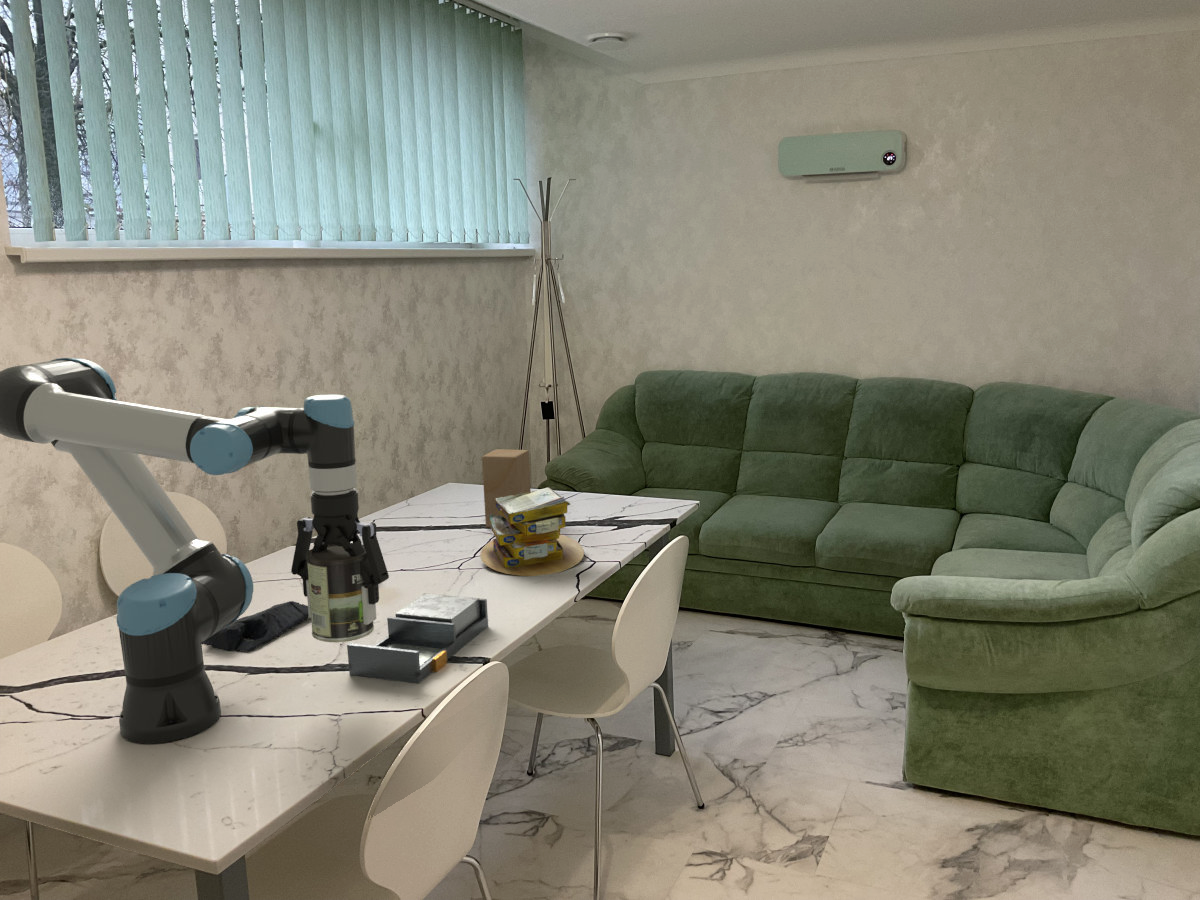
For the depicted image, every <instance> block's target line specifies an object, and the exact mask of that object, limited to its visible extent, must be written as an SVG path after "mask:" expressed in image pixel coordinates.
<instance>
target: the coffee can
mask: <svg viewBox="0 0 1200 900" xmlns="http://www.w3.org/2000/svg"><path fill="white" fill-rule="evenodd" d="M352 543H353V542H350V544H352ZM361 546H362V547H363V549H364V551H365V548H364V545H363V543H361ZM312 549H313V548H310V549H309V551H308V552H307V553H306V559H307V565H308V580H309V593H310V608H311V617H310V619H311V635H312V637H313V638H314V639H315V640H317V641H320V642H325V643H346V642H351V641H357V640H360V639H362V638H365V637H367V636H369V635H370V634H372V632H373V631H374V629H375V625H374V621H373V622H371V623H370V624H368V625H366V624H364V620H363V604H362V588H361V587H362V586H364V585H365V582H364V580H363V579H362V577H361V575H360V561H364V560H366V559H367V555H366V551H365V552H363V553H362V554H359V555H358V556H350V555H349V553H348V552H346V551H345V550H344V548H343V546H337V545H328V547H327V549H325V550H323V551H321V552H319V553H316V552H312Z"/></svg>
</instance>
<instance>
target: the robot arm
mask: <svg viewBox="0 0 1200 900" xmlns="http://www.w3.org/2000/svg"><path fill="white" fill-rule="evenodd" d="M116 393H117V388H116V386H115V383H114V380H113V379H112V378H111V376H110V375H109V373H108V372H107V371H106V370H105V369H104V368H103V367H102V366H100V364H97V363H96V362H93V361H91V360H89V359H85V358H79V357H73V358H69V357H61V358H55V359H52V360H49V361H43V362H37V363H36V362H35V363H31V364H23V365H14V366H10V367H7V368H4V369H3V370H1V371H0V435H2V436H5V437H7V438H10V439H14V440H19V441H23V442H31V443H37V444H43V445H45V444H51V445H52V447H54V449H55V450H56V451H59V452H64V453H68V454H70V455H71V456H72V457H73V459H74V460H75V462H76V463H77V465H78V466H79V467H80V468H81V470H82V471H83V473H84V474H85V475H86V477H87V478H88V479H89V481H90V482H91V484H92V485H93V487H94V488H95V489H96V490H97V492H98V493H99V494H100V496H101V497H102V499H103V500H104V501H105V502H106V504H107V506H108V507H109V508H110V510H111V511H112V513H113V514H114V515H115V517H116V518H117V519H118V521H119V522H120V523H121V525H122V526H123V528H124V529H125V530H126V532H127V533H128V534H129V537H131V538H132V540H133V542H134V543H135V544H136V545H137V547H138V548H139V550H140V551H141V553H142V554H143V556H145V558H146V560H147V561H148V563H149V564H150V565H151V566H152V568H153V571H152V576H150V577H149V578H142V579H140V580H137V581H136V582H134V583H132V584H130V585H129V586H127V587H125V589H123V591H122V592H121V593H120V594H119V595H118V598H117V602H116V624H117V627H118V632H119V638H120V639H119V641H120V645H121V653H122V661H123V667H124V668H123V669H124V674H125V676H124V677H125V682H126V687H125V691H124V696H123V701H122V706H121V707H122V710H121V711H120V714H119V717H118V719H119V721H118V723H119V730H120V731H119V732H120V735H121V737H122V738H124V739H125V740H126V741H128V742H131V743H136V744H162V743H168V742H173V741H174V742H175V741H177V740H182V739H185V738H189V737H191V736H194V735H196V734H199V733H201V732H203V731H206V730H207V729H208V728H210V727H211V726H213V725H214V724H215V723H216V722H217V721H218V720H219V719H220V717H221V715H222V710H221V701H220V698H219V696H218V694H217V693H216V692H215V690H214V688H213V685H212V683H211V681H210V677H208V674H207V673H206V669H205V664H204V655H203V654H204V653H203V644H201V643H202V642H203V641H205V640H206V639H208V638H209V637H211V636H212V635H214V634H215V633H217V632H218V631H220V630H221V629H223V628H224V627H226V626H228V625H230V624H232V623H233V622H234V621H236V620H238V619H240V617H241V616H242V615H243V614H244V613H246V611H247V610H248V608H249V607H250V605H251V603H252V600H253V594H254V580H253V578H252V574H251V572H250V570H249V568H248V567H247V565H246V564H245V563H244V562H243V561H242V560H241V559H239V558H238V557H236V556H230V555H229V554H225V553H221V552H220V551H219V549H218V547H217V546H216V545H215V544H214V542H213V541H209V540H205V539H200V538H199V537H198V536H197V534H196V533H195V532H194V531H193V529H192V528H191V527H190V525H189V524H188V522H187V521H186V520H185V518H184V517H183V515H182V514H181V512H180V511H179V510H178V508H177V507H176V506H175V504H174V502H172V499H170V497H169V496H168V494H167V493H166V492H165V490H164V488H163V487H162V486H161V485H160V483H159V482H158V480H157V479H156V477H155V476H154V475H153V473H152V472H151V471H150V469H149V468H148V466H147V465H146V464H145V462H144V461H143V460H142V458H141V457H140V455H142V456H147V457H148V456H150V457H154V458H155V457H156V458H160V459H167V460H171V461H172V460H173V461H178V462H184V463H188V464H195V466H196V467H197V468H199V470H201V471H203V473H205V474H208V475H210V476H211V475H212V476H221V475H222V476H223V475H225V474H231V473H232V474H233V473H235V472H238V471H239V470H242V469H243V468H245V467H248V466H250V465H252V464H254V463H257V462H260V461H262V460H264V459H267V458H270V457H271V456H274V455H278V454H297V455H298V454H300V455H304V454H305V455H307V464H308V481H309V482H308V483H309V489H310V490H311V491H312V492H310V506H311V508H310V509H311V513H312V515H313V517H312V518H311V517H310V516H305V517H304V518H301V519H298V520H297V521H296V527H297V529H296V530H297V538H296V543H295V547H294V549H295V550H294V553H293V558H292V559H293V560H292V565H291V570H290V571H291V574H292V575H293V576H294V575H297V576H299V577H300V578H301V579H302V587H303V588H302V590H303V595H304V597H307V598H306V599H307V606H308V613H309V616H308V618H311V608H310V593H309V580H308V565H307V559H306V553H307V552H308V551H309V550H311V549H312V552H316V553H319V552H321V551H323V550H325V549H327V547H328V545H337V546H343V548H344V550H345V551H346V552H348V553H349V555H350V556H358V555H359V554H362V553H363V552H365V551H366V555H367V559H366V560H364V561H360V575H361V577H362V579H363V580H364V582H365V585H364V586H362V587H361V588H362V604H363V620H364V624H366V625H368V624H370V623H371V622H373V623H374V621H376V620H377V606H376V605H377V603H379V601H380V589H379V585H380V584H382V583H384V582H386V581H387V580H388V579H389V578H390V574H389V572H388V569H387V565H386V563H385V558H384V557H383V553H382V550H381V547H380V543H379V541H378V537H377V525H376V523H375V522H370V523H364V522H361V521H360V519H359V517H358V515H359V514H358V513H359V491H358V490H357V489H356V487H357V485H358V479H357V463H356V461H357V460H356V447H355V445H356V444H355V420H354V416H353V406H352V402H351V401H352V400H350V398H349V397H348V396H346V395H343V394H335V393H334V394H316V395H311V396H308V397H306V398H305V399H304V401H303V407H275V406H274V407H273V406H271V407H268V406H263V405H258V406H255V407H253V406H251V407H243V408H241V409H239V410H238V411H237V414H236V415H235V416H234V417H233V418H221V417H217V416H216V417H215V416H208V415H204V414H198V413H192V412H186V411H181V410H174V409H168V408H164V407H163V408H162V407H156V406H150V405H145V404H139V403H132V402H128V401H127V402H126V401H122V400H121V401H120V400H117V397H116V396H115V395H116ZM313 530H315V532H316V533H317V534H316V537H315V539H314V542H313V547H312V548H311V542H312V537H313V532H314V531H313ZM358 532H359V535H358ZM360 537H361V538H360ZM361 539H362V541H361ZM350 543H352V544H350ZM361 544H363V545H364V548H365V551H364V549H363V547H362V546H361Z"/></svg>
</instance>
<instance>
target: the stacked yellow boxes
mask: <svg viewBox="0 0 1200 900" xmlns="http://www.w3.org/2000/svg"><path fill="white" fill-rule="evenodd" d="M527 493H529V492H527ZM527 493H524V494H523V493H522V495H521V494H518V495H515V496H514V495H510V496H507V497H500V498H499V497H498V498H496V499H495V506H496V510H497V511H498V512H499V513H500V514H502V515H503V516H495V515H491V514H490V516H491V517H490V524H491V528H490V530H491V531H492V533H493V536H494V537H495V538H493V539H492V540H491V541H489V542H487V543H486V544H485V545H484V546H483V547H482V549H481V551H480V559H481V561H482V562H483V563H484V564H485V566H487V567H488V568H490V569H492V570H494V571H496V572H500V573H501V574H507V575H513V576H519V577H520V576H523V577H525V576H526V577H534V576H535V577H536V576H543V575H544V576H545V575H551V574H556V573H561V572H563V571H567V570H569V569H570V568H573V567H575V566H576V565H577V564H579V563H580V562H581V561H582V559H583V558H584V556H585V555H584V554H585V551H584V547H583V546H582V544H581V543H579V541H577V540H575V539H574V538H571V537H569V536H566V535H564V534H561V529H563V528H566V526H567V525H566V521H567V519H566V515H565V514H567V513H568V506H571V502H570V501H568V500H566V499H565V497H564V496H561V495H560V494H558V493H557V492H556V491H555V490H554V489H552V488H550V487H545V488H541V489H538V490H532V491H531V493H529V494H527ZM525 494H526V495H525Z"/></svg>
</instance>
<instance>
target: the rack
mask: <svg viewBox="0 0 1200 900" xmlns="http://www.w3.org/2000/svg"><path fill="white" fill-rule="evenodd" d="M386 621H387V622H386V623H387V631H388V635H387V636H386V637H384V638H383V639H381V640H380V641H378V642H377V643H375V644H374V645H371V644H362V643H361V644H360V643H352V642H349V643H348V644H346V649H347V659H348V660H347V661H348V670H349V671H348V672H349V673H348V674H349V676H355V677H365V678H372V679H379V680H380V679H381V680H388V681H395V682H405V683H410V684H411V683H414V684H420V683H421V682H422V681H424V680H425V679H427V677H429V676H430V675H431V674H432V673H433V672H434V673H437V672H438V671H440V670H441V669H442V668H444V666H446V665H447V664H448V660H449V659H450V658H451V657H453V656H454V655H456V653H458V652H459V651H460V650H461V649H462V648H464V647H465V646H466V645H468V644H469V643H470V642H471V641H472V640H473V639H475V638H476V637H477V636H478V635H480V633H482V632H484V630H486V629H487V628H488V627H489V616H488V600H487V598H480V597H479V598H477V597H467V596H457V595H444V594H434V593H425V592H424V593H422V595H421V596H419V597H418V598H417V599H415V600H413V601H412V602H411V603H409V604H408V605H406V606H405V607H403V608H402V609H400V610H398V611H397V612H395V617H394V616H388V617H387V618H386Z"/></svg>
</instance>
